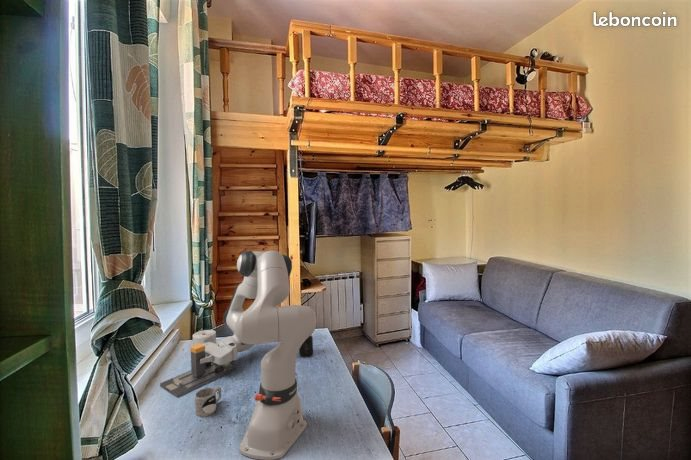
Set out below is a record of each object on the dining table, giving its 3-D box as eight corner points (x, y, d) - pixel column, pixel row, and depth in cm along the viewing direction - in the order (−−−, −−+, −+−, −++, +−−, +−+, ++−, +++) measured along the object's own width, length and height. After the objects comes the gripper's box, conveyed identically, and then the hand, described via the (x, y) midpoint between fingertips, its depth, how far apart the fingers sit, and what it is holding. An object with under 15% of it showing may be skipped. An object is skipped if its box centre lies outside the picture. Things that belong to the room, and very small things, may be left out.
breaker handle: (200, 370, 135) (199, 343, 135) (206, 373, 133) (205, 345, 132) (191, 374, 132) (190, 346, 131) (196, 377, 130) (195, 349, 129)
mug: (204, 419, 106) (203, 400, 106) (191, 413, 109) (190, 395, 109) (227, 403, 115) (227, 385, 114) (214, 398, 118) (214, 381, 117)
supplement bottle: (314, 351, 157) (313, 328, 156) (311, 358, 150) (311, 333, 149) (300, 351, 157) (300, 327, 157) (297, 357, 151) (297, 333, 150)
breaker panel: (218, 361, 148) (218, 354, 148) (236, 369, 140) (236, 362, 139) (160, 386, 126) (159, 378, 126) (177, 397, 118) (177, 389, 118)
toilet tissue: (207, 347, 164) (207, 328, 163) (222, 352, 158) (222, 332, 157) (188, 355, 155) (187, 335, 154) (203, 360, 148) (203, 340, 148)
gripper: (212, 336, 148) (183, 346, 137) (238, 346, 137) (209, 358, 125) (212, 349, 149) (183, 360, 138) (239, 360, 137) (209, 374, 126)
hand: (196, 359), depth 131 cm, fingers closed on breaker handle, 4 cm apart
